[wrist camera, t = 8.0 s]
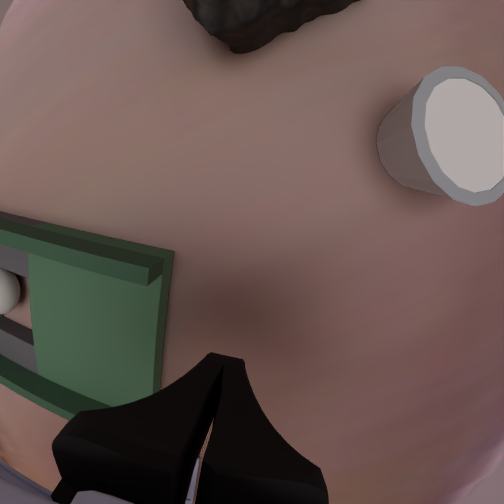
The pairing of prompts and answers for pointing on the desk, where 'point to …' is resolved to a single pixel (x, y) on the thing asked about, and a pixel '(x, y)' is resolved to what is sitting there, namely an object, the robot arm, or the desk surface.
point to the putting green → (83, 317)
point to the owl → (257, 18)
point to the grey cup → (447, 137)
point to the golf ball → (8, 291)
